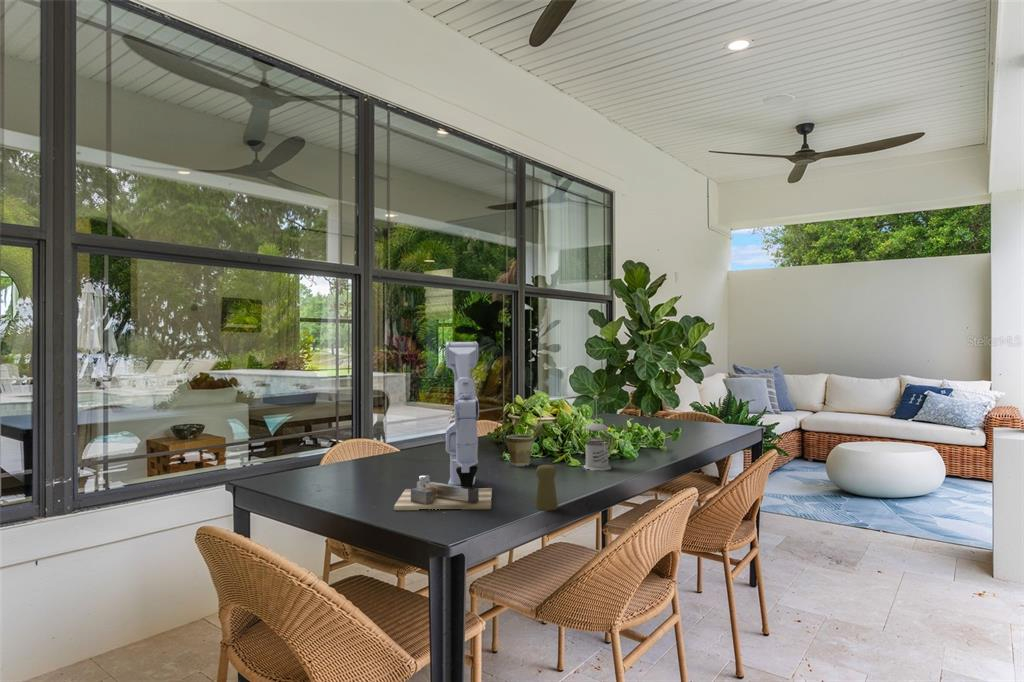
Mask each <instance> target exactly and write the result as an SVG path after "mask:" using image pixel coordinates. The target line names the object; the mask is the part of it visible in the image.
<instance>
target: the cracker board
mask: <svg viewBox="0 0 1024 682" xmlns="http://www.w3.org/2000/svg"><path fill="white" fill-rule="evenodd" d="M477 488H478V487H477ZM411 489H412V488H405V489H404V491H403V492H402V493H401V495H400V496H399V497H398V498H397V501H396V502H395V504H394V505H393V510H394V511H420V510H419V509H429V510H428V511H440V509H461V510H491V509H492V500H493V499H492V497H493V496H492V495H493V487H483V488H481V487H480V488H478V491H479V501H477V502H475V503H474V502H468V501H463V500H456V499H450V498H444V497H437V496H436V497H435V498H434V499H433V503H431V504H427V505H425V504H421V503H417V502H412V501H411ZM491 499H492V500H491ZM430 509H432V510H430ZM433 509H435V510H433ZM437 509H439V510H437Z"/></svg>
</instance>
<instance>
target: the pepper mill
mask: <svg viewBox="0 0 1024 682" xmlns="http://www.w3.org/2000/svg"><path fill="white" fill-rule="evenodd" d="M535 473H536V477H537V478H538V479H537V488H536V495H535V502H534V503H535V505H534V508H535V509H536V508H537V509H536V510H538V509H540V510H539V511H554V510H555V511H556V510H558V509H559V505H558V498H557V491H556V484H555V478H556V475H557V468H556V467H555V465H550V464H542V465H538V466H537V468H536V469H535Z"/></svg>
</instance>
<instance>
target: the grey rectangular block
mask: <svg viewBox="0 0 1024 682" xmlns="http://www.w3.org/2000/svg"><path fill="white" fill-rule="evenodd" d="M410 489H411V501H412V502H417V503H421V504H425V505H427V504H431V503H433V491H432V490H427V489H423V488H418V487H417V486H416V487H413V488H410Z"/></svg>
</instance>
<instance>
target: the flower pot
mask: <svg viewBox="0 0 1024 682" xmlns="http://www.w3.org/2000/svg"><path fill="white" fill-rule="evenodd" d="M505 440H506V446H507V449H508V452H509V453H508V455H509V460H510V461H509V462H510V464H511V466H513V465H514V467H526V466H525V465H527V466H530V462H531V460H530V459H531V454H532V449H533V446H534V440H535V436H534V435H531V434H523V433H522V434H520V433H519V434H510V435H509V434H508V435H506V436H505Z"/></svg>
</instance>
